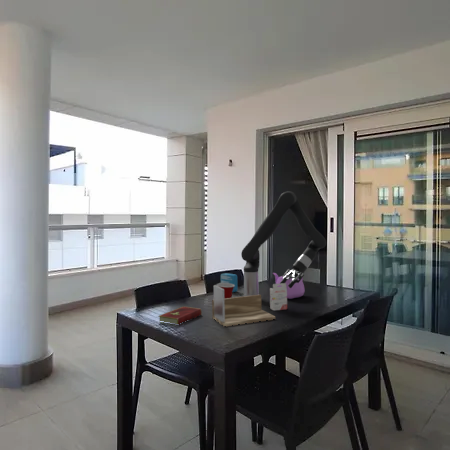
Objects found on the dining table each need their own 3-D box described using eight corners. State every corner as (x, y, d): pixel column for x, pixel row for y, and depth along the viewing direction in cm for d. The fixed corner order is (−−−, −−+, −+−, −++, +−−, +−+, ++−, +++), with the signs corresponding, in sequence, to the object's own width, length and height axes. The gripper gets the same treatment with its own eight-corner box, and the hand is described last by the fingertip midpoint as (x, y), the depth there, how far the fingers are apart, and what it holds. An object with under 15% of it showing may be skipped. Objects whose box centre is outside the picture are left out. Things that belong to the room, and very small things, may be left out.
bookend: (214, 316, 185) (213, 285, 185) (215, 316, 186) (215, 285, 185) (222, 322, 174) (222, 289, 174) (224, 322, 174) (224, 289, 174)
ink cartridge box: (283, 307, 207) (283, 281, 206) (287, 309, 202) (287, 283, 201) (269, 308, 204) (269, 282, 204) (273, 310, 200) (272, 284, 199)
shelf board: (212, 318, 187) (212, 300, 187) (260, 311, 198) (260, 294, 197) (224, 326, 172) (223, 307, 172) (275, 319, 183) (275, 300, 183)
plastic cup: (233, 306, 211) (232, 286, 210) (215, 305, 213) (214, 285, 212) (236, 302, 221) (236, 282, 221) (219, 301, 223) (218, 282, 223)
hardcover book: (201, 316, 193) (201, 308, 193) (177, 327, 175) (177, 318, 175) (183, 313, 199) (183, 305, 199) (158, 323, 181) (158, 315, 181)
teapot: (312, 295, 235) (312, 272, 234) (291, 301, 221) (290, 276, 221) (285, 290, 252) (285, 269, 252) (264, 295, 239) (263, 272, 239)
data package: (220, 290, 256) (220, 273, 256) (224, 289, 259) (224, 273, 259) (233, 292, 248) (233, 275, 248) (237, 291, 251) (237, 274, 251)
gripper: (291, 258, 214) (274, 279, 210) (305, 261, 201) (288, 283, 197) (298, 267, 216) (282, 287, 212) (313, 270, 203) (296, 292, 199)
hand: (285, 285), depth 205 cm, fingers open, 8 cm apart
